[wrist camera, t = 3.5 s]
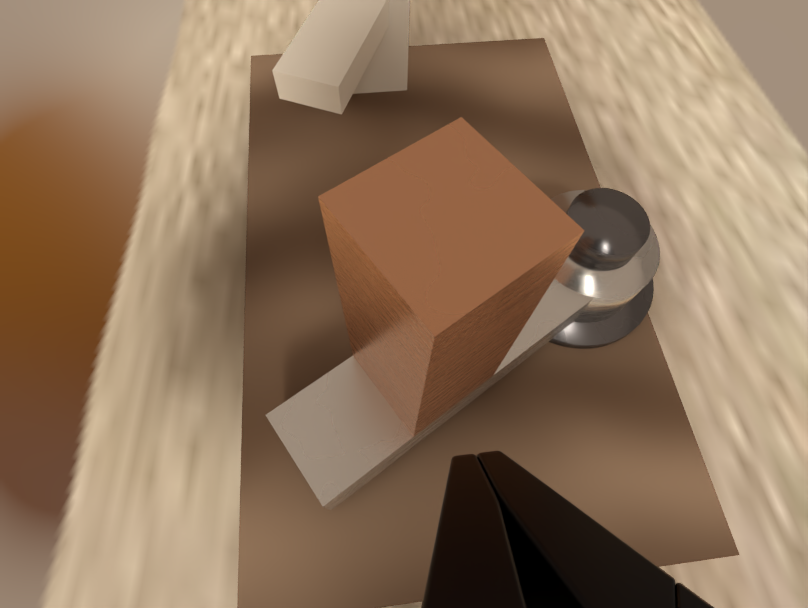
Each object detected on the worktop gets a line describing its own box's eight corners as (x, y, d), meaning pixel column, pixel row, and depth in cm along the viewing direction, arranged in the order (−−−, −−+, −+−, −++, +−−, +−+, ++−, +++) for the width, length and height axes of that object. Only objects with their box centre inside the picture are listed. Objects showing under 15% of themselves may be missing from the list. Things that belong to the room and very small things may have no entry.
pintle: (671, 339, 18) (736, 293, 14) (512, 357, 17) (540, 314, 14) (619, 207, 20) (664, 142, 17) (480, 220, 20) (498, 156, 16)
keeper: (421, 169, 21) (427, 81, 17) (296, 179, 20) (272, 91, 16) (399, 48, 24) (401, -49, 20) (292, 55, 24) (271, -43, 20)
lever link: (657, 280, 18) (895, 52, 10) (344, 531, 14) (270, 523, 6) (573, 204, 20) (713, -52, 11) (269, 411, 16) (119, 261, 7)
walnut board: (715, 553, 16) (739, 555, 15) (248, 621, 14) (236, 628, 13) (537, 58, 26) (543, 38, 25) (257, 76, 25) (251, 55, 24)
